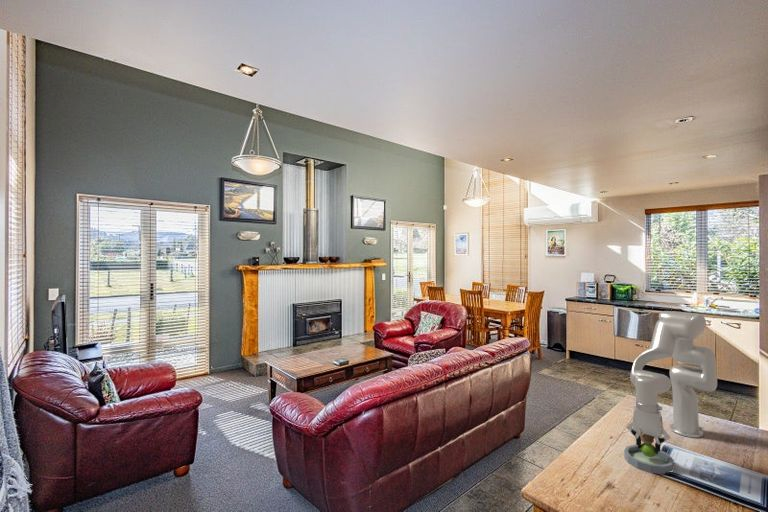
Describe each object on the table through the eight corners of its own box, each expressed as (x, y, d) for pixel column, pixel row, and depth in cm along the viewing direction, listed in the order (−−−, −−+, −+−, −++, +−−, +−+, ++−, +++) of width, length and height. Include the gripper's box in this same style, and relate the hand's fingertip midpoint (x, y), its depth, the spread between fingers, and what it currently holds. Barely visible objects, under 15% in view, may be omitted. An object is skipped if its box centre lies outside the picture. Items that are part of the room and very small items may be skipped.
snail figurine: (635, 453, 159) (634, 425, 159) (649, 452, 159) (648, 424, 159) (645, 460, 153) (644, 431, 153) (660, 459, 154) (658, 430, 154)
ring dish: (630, 447, 168) (629, 441, 168) (676, 461, 156) (676, 454, 156) (620, 463, 156) (620, 456, 156) (669, 479, 144) (669, 471, 144)
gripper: (673, 409, 153) (675, 453, 153) (625, 398, 165) (626, 439, 165) (671, 415, 147) (672, 461, 147) (620, 404, 159) (622, 446, 159)
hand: (648, 449), depth 156 cm, fingers closed on snail figurine, 5 cm apart
